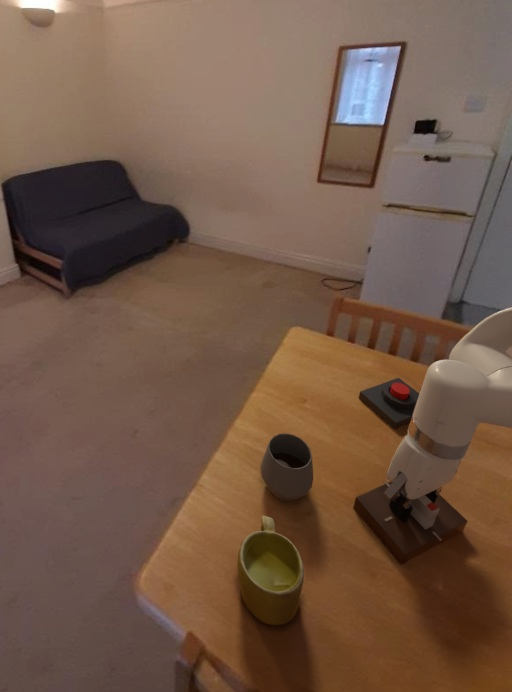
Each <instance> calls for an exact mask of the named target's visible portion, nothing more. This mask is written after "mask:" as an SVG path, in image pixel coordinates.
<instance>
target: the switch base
mask: <svg viewBox="0 0 512 692" xmlns="http://www.w3.org/2000/svg"><path fill="white" fill-rule="evenodd" d="M393 481H394V480H392V481H389V482H387V481H386V480H385V479H383V480H382V482H383V484H382V485H379V486H378V487H376V488H374V489H371V490H369V491H366V492H365V493H362V494H360V495H358V496H356V497H355V500H354V504H353V509H354V511H355V512H356V513H357V514H358V515H359V516H360V518H361V519H362V520H363V521H364V522H365V524H366V525H367V526H368V527H369V529H371V531H372V532H373V534H374V535H375V536H376V537H377V538H378V539H379V541H380V542H381V543H382V544H383V545H384V547H385V548H386V549H387V550H388V552H390V554H391V555H392V556H393V557H394V559H395V560H396V561H397V562H398V564H400V566H401V565H403V564H406V563H407V562H409V561H412V560H413V559H415V558H417V557H419V556H420V555H422V554H424V553H426V552H428V551H429V550H432V549H433V548H435V547H437V546H439V545H441V544H443V543H444V542H446V541H448V540H450V539H452V538H454V537H456V536H457V535H459V534H461V533H463V532H464V530H465V528H466V525H467V524H468V520H467V519H466V518H465V517H464V516H463V515H462V514H461V513H460V512H459V511H458V510H457V509H456V508H454V507H453V505H451V504H450V503H449V502H448V501H447V500H446V498H444V497H443V496H442V495H441V494H440V493H438V494H436V493H435V494H436V495H437V499H436V501H435V505H436V506H437V507H438V508H439V512H438V514H437V517H436V519H435V521H434V524H433V526H432V527H430V528H428V529H426V530H425V529H424V528H423V527H422V526H421V525H420V523H419V522H418V521H417V520H416V519H415V518H414V517H413V516H412V515H411V514H410V516H409V519H408V522H406V523H403V522H402V520H401V519H400V518H399V517H398V516H396V515H395V514H394V513H393V511H392V509H391V508H390V507H389V504H390V500H389V499H388V498H387V497H386V496H385V495H384V492H385V491H386V489H387V488H388V487H389V486H390V485H391V484H392V483H393Z"/></svg>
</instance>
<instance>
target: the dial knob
mask: <svg viewBox="0 0 512 692" xmlns="http://www.w3.org/2000/svg"><path fill="white" fill-rule="evenodd" d="M394 480H395V479H394ZM400 493H402V495H403V496H404V497H405V498H407V496H406V495H407V493H406V492H405V491H404V490H402V491H401V492H400ZM411 506H412V508H413V509H412V511H411V515H412V516H413V517H414V518H415V519H416V520H417V521H418V522H419V523H420V525H421V526H422V527H423V528H424V529H425V530H426V529H428V528H430V527H432V526H433V524H434V521H435V519H436V517H437V514H438V512H439V508H438V507H437V506H436V505H435V504H434V503H433V502H432V501H431V500H430V499H428V498H427V497H426V496H425V495H424V496H421V497H419V498H417V499H414V501H413V502H412V504H411Z"/></svg>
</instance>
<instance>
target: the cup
mask: <svg viewBox="0 0 512 692" xmlns="http://www.w3.org/2000/svg"><path fill="white" fill-rule="evenodd" d="M260 474H261V478H262V480H263V482H264V484H265V486H266V487H267V488H268V490H269V491H270V493H271V494H273V496H274V497H276V498H278V499H279V500H281V501H285V502H293V501H296V500H299V499H301V498H303V497H304V496H306V495H307V494H308V493H309V492H310V490H311V489H312V487H313V483H314V466H313V455H312V450H311V447H310V446H309V444H308V443H307V442H306V441H304V440H303V438H301V437H299V436H297V435H295V434H292V433H287V432H286V433H285V432H283V433H277V434H275V435H273V436H272V437H271V439H269V441H268V444H267V446H266V448H265V451H264V454H263V456H262V460H261V464H260Z"/></svg>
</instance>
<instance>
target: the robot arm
mask: <svg viewBox="0 0 512 692" xmlns="http://www.w3.org/2000/svg"><path fill="white" fill-rule="evenodd" d="M511 347H512V306H511V307H507V308H505V309H502V310H499V311H496V312H494V313H492V314H490V315H489V316H487V317H485V318H484V319H483V320H481V321H480V322H479V323H478V324H477V325H475V326H473V328H472V329H470V330H469V332H467V333H466V334H465V335H464V336H463V337H462V338H461V339H460V340H458V342H457V343H456V344H455V345H454V347H453V348H452V349H451V352H450V353H449V356H448V359H439V360H437V361H434V362H432V363H431V364H430V365H429V367H428V368H427V370H426V373H425V376H424V379H423V382H422V385H421V388H420V391H419V397H418V400H417V403H416V406H415V409H414V412H413V415H412V418H411V421H410V423H409V424H408V426H407V427H408V428H407V434H406V435H405V436H404V437H403V439H402V440H401V441H400V443H399V445H398V446H397V448H396V449H395V452H394V454H393V457H392V458H391V461H390V463H389V466H388V469H387V472H386V478H387V479H388V480H389V482H391V481H393V480H394V479H395V480H394V481H393V483H392V484H391V485H390V486H389V487H388V488H387V489H386V491H385V492H384V495H385V496H386V497H387V498H388V499H389V500H390V504H389V507H390V508H391V509H392V511H393V513H394V514H395V515H396V516H398V517H399V518H400V519H401V520H402V522H403V523H406V522H408V519H409V516H410V514H411V511H412V509H413V508H412V506H411V504H412V502H413V501H414V499H417V498H419V497H421V496H424V495H425V496H426V497H427V498H428V499H430V500H431V501H432V502H433V503H434V504H435V501H436V499H437V495H436V494H438V493H439V494H440V493H441V492H442V490H443V487H444V486H447V485H448V484H450V483H451V482H452V481H453V480H454V479H455V476H456V474H457V473H458V470H459V468H460V465H461V462H462V460H463V459H464V458H465V456H466V454H467V452H468V449H469V447H470V444H471V442H472V440H473V437H474V436H475V432H476V430H477V429H478V426H479V424H489V425H493V426H499V427H505V428H509V429H510V428H511V429H512V356H511V355H510V354H509V353H508V352H506V351H508V350H510V348H511ZM402 490H404V491H405V492H406V493H407V495H406V496H407V498H405V497H404V496H403V495H402V493H400V492H401V491H402ZM435 493H436V494H435Z"/></svg>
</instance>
